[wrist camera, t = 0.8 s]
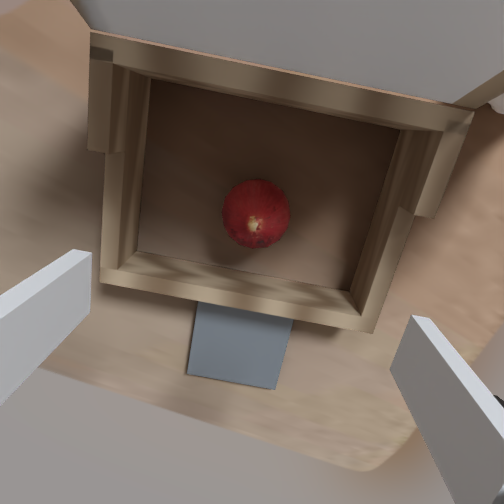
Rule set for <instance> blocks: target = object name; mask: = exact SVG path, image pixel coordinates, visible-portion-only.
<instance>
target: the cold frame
mask: <svg viewBox="0 0 504 504" xmlns="http://www.w3.org/2000/svg"><path fill="white" fill-rule="evenodd" d="M151 78H152V79H157V80H162V81H167V82H172V83H177V84H181V85H186V86H191V87H196V88H201V89H206V90H211V91H215V92H220V93H225V94H230V95H235V96H240V97H245V98H250V99H254V100H259V101H264V102H269V103H274V104H279V105H284V106H288V107H293V108H298V109H303V110H308V111H313V112H318V113H323V114H327V115H332V116H337V117H342V118H347V119H352V120H357V121H362V122H366V123H371V124H376V125H381V126H386V127H391V128H396V129H400V130H401V131H400V134H399V137H398V140H397V143H396V147H395V150H394V153H393V156H392V159H391V162H390V165H389V169H388V172H387V175H386V178H385V181H384V184H383V187H382V191H381V194H380V197H379V200H378V203H377V206H376V209H375V212H374V216H373V219H372V222H371V225H370V228H369V231H368V234H367V238H366V241H365V244H364V247H363V250H362V253H361V256H360V260H359V263H358V266H357V269H356V272H355V275H354V278H353V282H352V285H351V288H350V291H349V292H348V291H343V290H338V289H332V288H327V287H322V286H317V285H312V284H306V283H301V282H296V281H291V280H286V279H280V278H275V277H270V276H265V275H260V274H254V273H249V272H244V271H239V270H233V269H228V268H223V267H218V266H213V265H207V264H202V263H197V262H192V261H187V260H181V259H176V258H171V257H166V256H161V255H155V254H150V253H145V252H140V251H137V242H138V230H139V218H140V206H141V194H142V182H143V170H144V158H145V146H146V134H147V122H148V110H149V98H150V86H151ZM474 113H475V112H473V111H468V110H463V109H458V108H453V107H448V106H444V105H439V104H434V103H429V102H424V101H420V100H415V99H410V98H405V97H400V96H396V95H391V94H386V93H381V92H376V91H372V90H367V89H362V88H357V87H352V86H347V85H343V84H338V83H333V82H328V81H323V80H319V79H314V78H309V77H304V76H299V75H295V74H290V73H285V72H280V71H275V70H270V69H266V68H261V67H256V66H251V65H246V64H242V63H237V62H232V61H227V60H222V59H218V58H213V57H208V56H203V55H198V54H194V53H189V52H184V51H179V50H174V49H169V48H165V47H160V46H155V45H150V44H145V43H141V42H136V41H131V40H126V39H121V38H117V37H112V36H107V35H102V34H97V33H92V32H90V63H89V98H88V134H87V150H90V151H95V152H100V153H105V169H104V191H103V213H102V235H101V257H100V278H99V282H101V283H106V284H112V285H117V286H122V287H127V288H133V289H138V290H143V291H149V292H154V293H159V294H164V295H170V296H175V297H180V298H185V299H191V300H196V301H201V302H207V303H212V304H217V305H222V306H228V307H233V308H238V309H244V310H249V311H254V312H259V313H265V314H270V315H275V316H281V317H286V318H291V319H296V320H302V321H307V322H312V323H318V324H323V325H328V326H333V327H339V328H344V329H349V330H354V331H360V332H365V333H370V334H373V332H374V329H375V326H376V323H377V320H378V318H379V315H380V312H381V309H382V307H383V304H384V301H385V298H386V296H387V293H388V290H389V287H390V284H391V282H392V279H393V276H394V273H395V271H396V268H397V265H398V262H399V259H400V257H401V254H402V251H403V248H404V246H405V243H406V240H407V237H408V235H409V232H410V229H411V226H412V223H413V221H414V218H415V215H417V216H422V217H427V218H432V219H434V218H435V216H436V213H437V210H438V208H439V205H440V202H441V200H442V197H443V195H444V192H445V189H446V187H447V184H448V181H449V179H450V176H451V174H452V171H453V168H454V166H455V163H456V160H457V158H458V155H459V153H460V150H461V147H462V145H463V142H464V139H465V137H466V134H467V132H468V129H469V126H470V124H471V121H472V118H473V116H474Z"/></svg>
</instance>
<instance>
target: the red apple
mask: <svg viewBox="0 0 504 504" xmlns="http://www.w3.org/2000/svg"><path fill="white" fill-rule="evenodd" d="M222 218H223V224H224V227H225V229H226V231H227V233H228V235H229V236H230V237H231V238H232V239H233V240H235V241H236V242H237V243H238V244H239V245H243V246H246V247H249V248H252V249H253V248H263V247H268V246H270V245H271V244H273V243H275V242H276V241H278V240H280V238H281V237H282V235H283V234H284V233H285V231H286V230H287V228H288V224H289V220H290V209H289V202H288V200H287V198H286V196H285V194H284V193H283V191H282V190H281V189H280V188H278V187H277V186H276V185H274V184H273V183H272V182H269V181H266V180H262V179H254V180H247V181H244V182H242V183H240V184H238V185H237V186H235V187H233V188H232V190H231V191H230V192H229V193H228V195H227V196H226V197H225V200H224V204H223V208H222Z"/></svg>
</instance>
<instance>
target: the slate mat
mask: <svg viewBox="0 0 504 504" xmlns="http://www.w3.org/2000/svg"><path fill="white" fill-rule="evenodd" d="M293 320H294V319H291V318H286V317H281V316H275V315H270V314H265V313H259V312H254V311H249V310H244V309H238V308H233V307H228V306H222V305H217V304H212V303H207V302H201V301H198V306H197V312H196V319H195V325H194V332H193V338H192V345H191V351H190V357H189V364H188V370H187V374H192V375H197V376H202V377H208V378H213V379H219V380H224V381H230V382H235V383H240V384H246V385H251V386H257V387H262V388H268V389H273V390H275V388H276V384H277V381H278V377H279V373H280V369H281V366H282V362H283V358H284V354H285V351H286V347H287V343H288V339H289V336H290V332H291V328H292V324H293Z"/></svg>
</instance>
